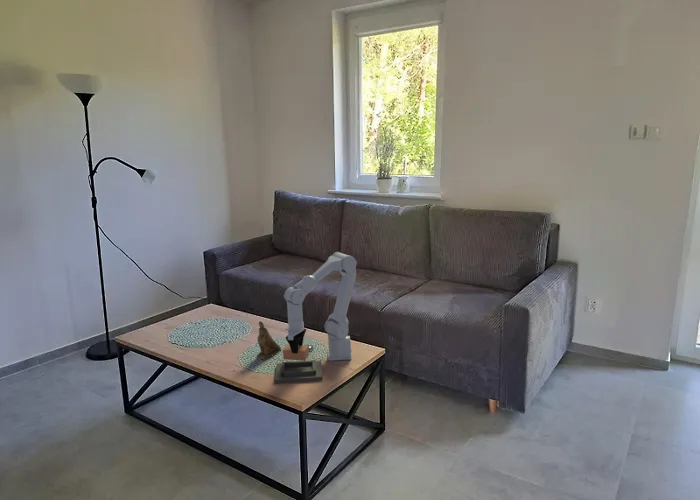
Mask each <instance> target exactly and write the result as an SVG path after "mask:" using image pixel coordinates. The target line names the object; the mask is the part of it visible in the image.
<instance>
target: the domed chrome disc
mask: <svg viewBox="0 0 700 500" xmlns="http://www.w3.org/2000/svg"><path fill="white" fill-rule="evenodd" d="M305 346H308V349H309V352H311V351H310V350H312V351H314V345H313V344H306V345H305Z"/></svg>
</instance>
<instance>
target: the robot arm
mask: <svg viewBox="0 0 700 500" xmlns="http://www.w3.org/2000/svg"><path fill="white" fill-rule="evenodd" d="M357 263H358V262H357V260H356V259H355V257H354V256H352V255H348V254H345V253H342V252H340V251H336V252H333V254H332V255H330V256H328V258H327V260H326V261H325V262H324V263H323V264H322V265H321V266H320V267H319V268H318V269H316V271H314V273H313V274H312V275H310V274H309V275H308V274H307V275H304V276H302V279H301V280H300V281H298V282H297V283H295V284H294V285H293V286H290V287H288V288H287V289H286V290H285V292H284V294H283V298H284V300H285V301H286V305H287V307H286V308H287V323H288V325H287V326H286V327H285V330H286V331H288V333H287V335H286V337H285V341H287V343H288V345H290V348H291V351H292V353H296V354H297V353H298V346H299V345H301V346H303V343H304V339H305V338H304V337H305V334H306V332H307V328H304V326H305V324H304V323H305V321H304V319H303V302H304V300H305V298H306V296H307V295H308V294H309V293H311V292H312V291H313V290H314V289H315V288H317V285H318V282H319V281H321V280H322V279H323V278H325V277H327V275H329V274H331V272H339V273H340V275H341V280H340V284H339V289H338V293H337V296H336V301H335V304H334V308H333V312H332V313H331V314H329V315H328V318H327V320H326V321H325V323H324V331H325V332H326V333H327V337H328V338H327V341H328V343H327V344H328V346H327V347H328V351H327V359H328V361H347V360H352V347H351V345H352V343H351V337H350V335H348V334H349V331H350V330H349V325H350V324H349V323H350V322H349V320H348V317H347V313H348V310H349V306H350V302H351V299H352V298H351V297H352V294H353V290H354V286H355V282H356V278H357Z"/></svg>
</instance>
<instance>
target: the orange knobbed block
mask: <svg viewBox="0 0 700 500" xmlns="http://www.w3.org/2000/svg"><path fill="white" fill-rule="evenodd" d="M309 356H310V351H309V349H308V346H306V345H302V346H301V345H299V346H298V353H297V354H296V353H292V351H291V348H290V345H289V344H286V345H285V347H283V348H282V357H283V358H282V359H283V360H288V361H289V360H290V361H307V360H308V357H309Z"/></svg>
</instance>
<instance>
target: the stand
mask: <svg viewBox="0 0 700 500" xmlns="http://www.w3.org/2000/svg"><path fill="white" fill-rule="evenodd" d="M274 374H275V376H274V384H289V383H304V382H317V381H323V369H322V360H316V359H311V360H309V359H308V360H305V361H303V360H292V361H281V363H276V367H275V373H274Z"/></svg>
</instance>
